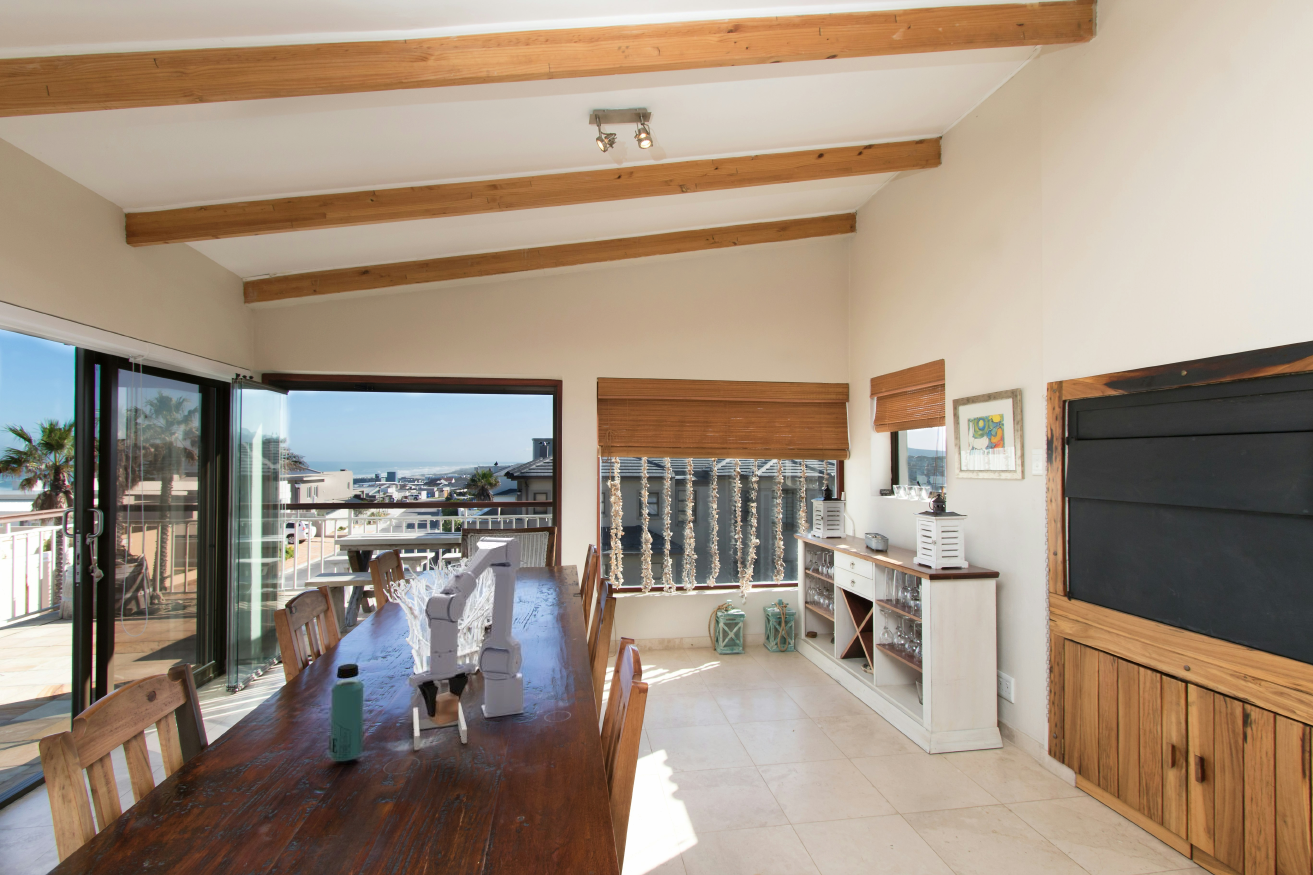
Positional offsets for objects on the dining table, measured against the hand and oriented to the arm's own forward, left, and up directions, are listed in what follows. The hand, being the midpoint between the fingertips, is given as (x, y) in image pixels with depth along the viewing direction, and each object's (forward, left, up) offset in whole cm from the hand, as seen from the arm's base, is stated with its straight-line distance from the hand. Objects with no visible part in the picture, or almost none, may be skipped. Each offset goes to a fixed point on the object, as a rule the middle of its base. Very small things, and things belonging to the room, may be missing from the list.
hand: (442, 712), depth 142 cm
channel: (0, -12, -8) cm, 15 cm away
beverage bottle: (+19, -2, -9) cm, 21 cm away
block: (0, +1, -1) cm, 2 cm away
